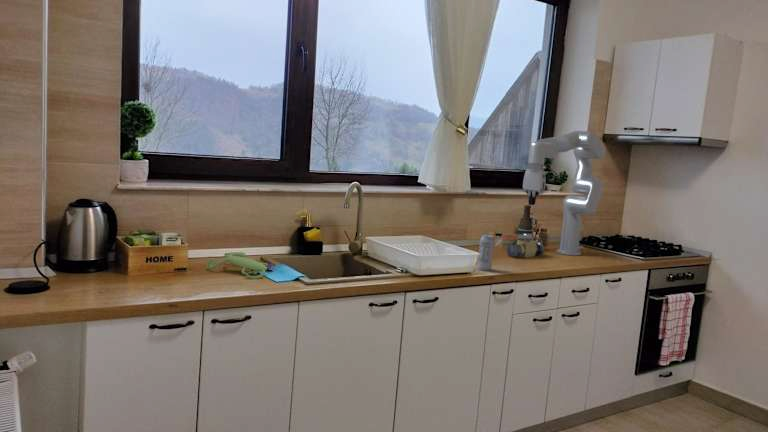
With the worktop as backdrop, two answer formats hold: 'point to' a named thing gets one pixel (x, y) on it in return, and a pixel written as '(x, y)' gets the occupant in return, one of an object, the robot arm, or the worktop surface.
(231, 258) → the figurine
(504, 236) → the lever
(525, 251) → the valve
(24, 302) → the worktop surface
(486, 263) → the energy drink can
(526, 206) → the beer bottle
